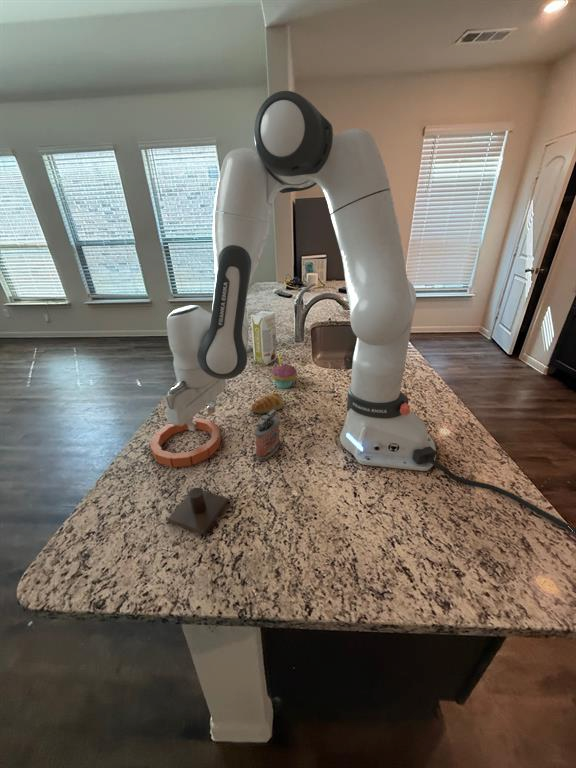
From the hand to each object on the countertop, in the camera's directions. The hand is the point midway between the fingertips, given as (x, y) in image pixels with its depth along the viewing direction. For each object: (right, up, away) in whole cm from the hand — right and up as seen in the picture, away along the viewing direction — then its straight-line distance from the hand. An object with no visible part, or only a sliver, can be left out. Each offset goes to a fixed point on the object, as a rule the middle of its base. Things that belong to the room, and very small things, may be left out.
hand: (202, 420), depth 83 cm
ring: (-3, -5, -4) cm, 8 cm away
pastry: (+17, +2, +10) cm, 20 cm away
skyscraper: (+2, +25, +54) cm, 59 cm away
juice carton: (+14, +19, +42) cm, 48 cm away
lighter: (+18, -7, -7) cm, 20 cm away
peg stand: (+6, -15, -23) cm, 28 cm away
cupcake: (+21, +9, +23) cm, 33 cm away
